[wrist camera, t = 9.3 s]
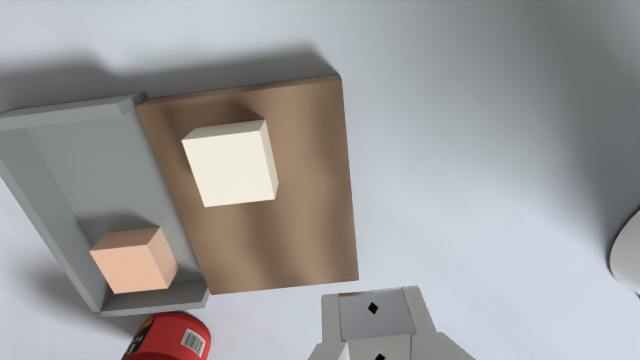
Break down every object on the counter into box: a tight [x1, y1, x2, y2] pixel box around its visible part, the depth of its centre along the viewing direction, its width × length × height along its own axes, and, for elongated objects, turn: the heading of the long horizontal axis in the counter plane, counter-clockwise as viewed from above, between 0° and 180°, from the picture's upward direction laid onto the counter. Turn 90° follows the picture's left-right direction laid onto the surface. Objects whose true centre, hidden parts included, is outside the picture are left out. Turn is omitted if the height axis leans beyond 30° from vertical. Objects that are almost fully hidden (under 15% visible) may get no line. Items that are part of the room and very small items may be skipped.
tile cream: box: [182, 120, 279, 207], centre depth 21 cm, size 5×5×2 cm
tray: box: [0, 92, 210, 318], centre depth 26 cm, size 10×19×4 cm, turn 7°
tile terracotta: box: [89, 227, 179, 294], centre depth 28 cm, size 5×5×2 cm
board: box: [136, 74, 359, 295], centre depth 26 cm, size 14×18×2 cm
